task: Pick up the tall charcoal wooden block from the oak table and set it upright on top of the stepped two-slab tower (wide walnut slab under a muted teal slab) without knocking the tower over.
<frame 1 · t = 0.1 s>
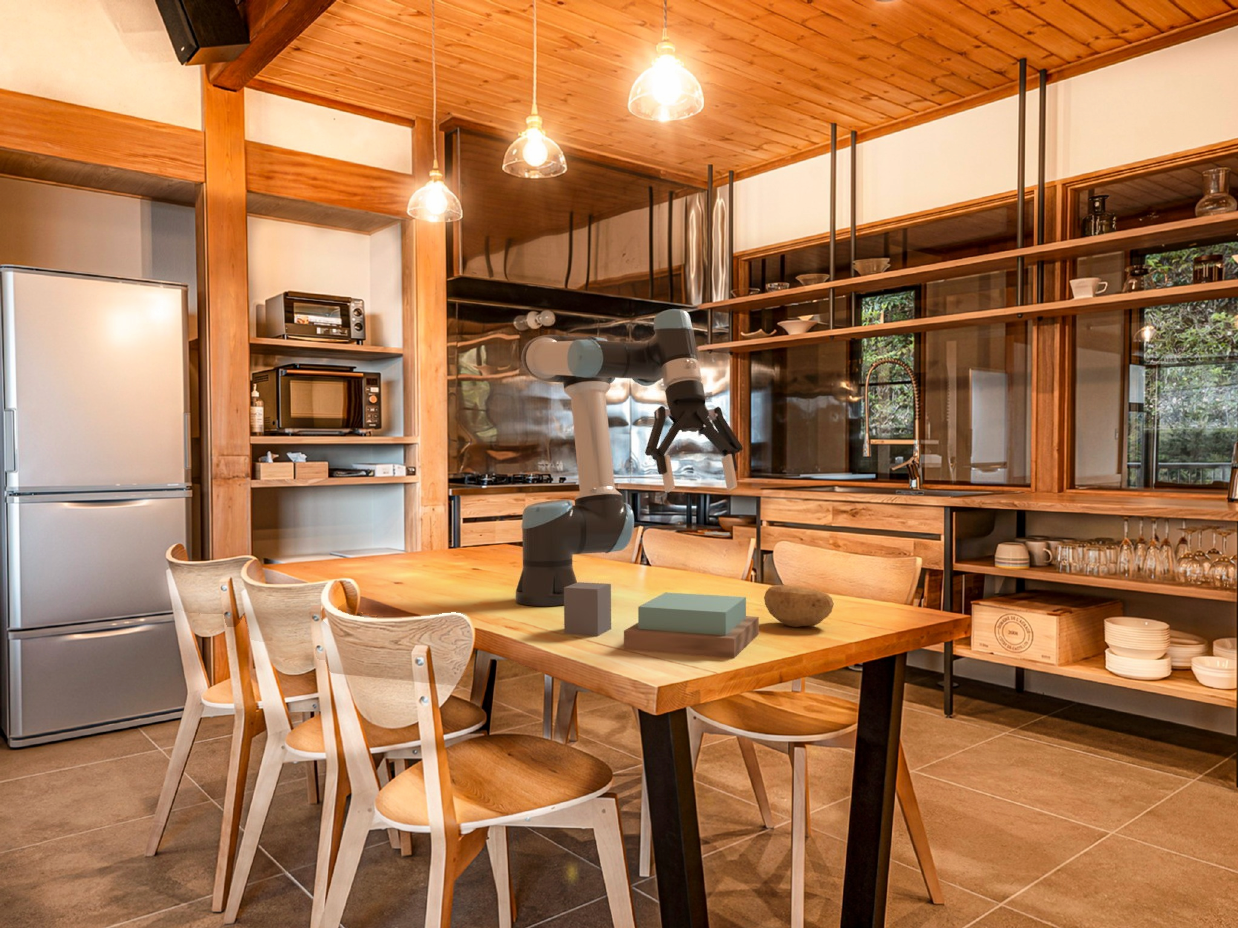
hand: (701, 489, 166), 28 cm above the table, tool tilted 20°, fingers open, 13 cm apart
block top: (693, 623, 161), point 3 cm above the table, touching block bottom
potato: (798, 627, 174), on the table
block: (588, 631, 171), on the table
block bottom: (693, 644, 161), on the table, touching block top
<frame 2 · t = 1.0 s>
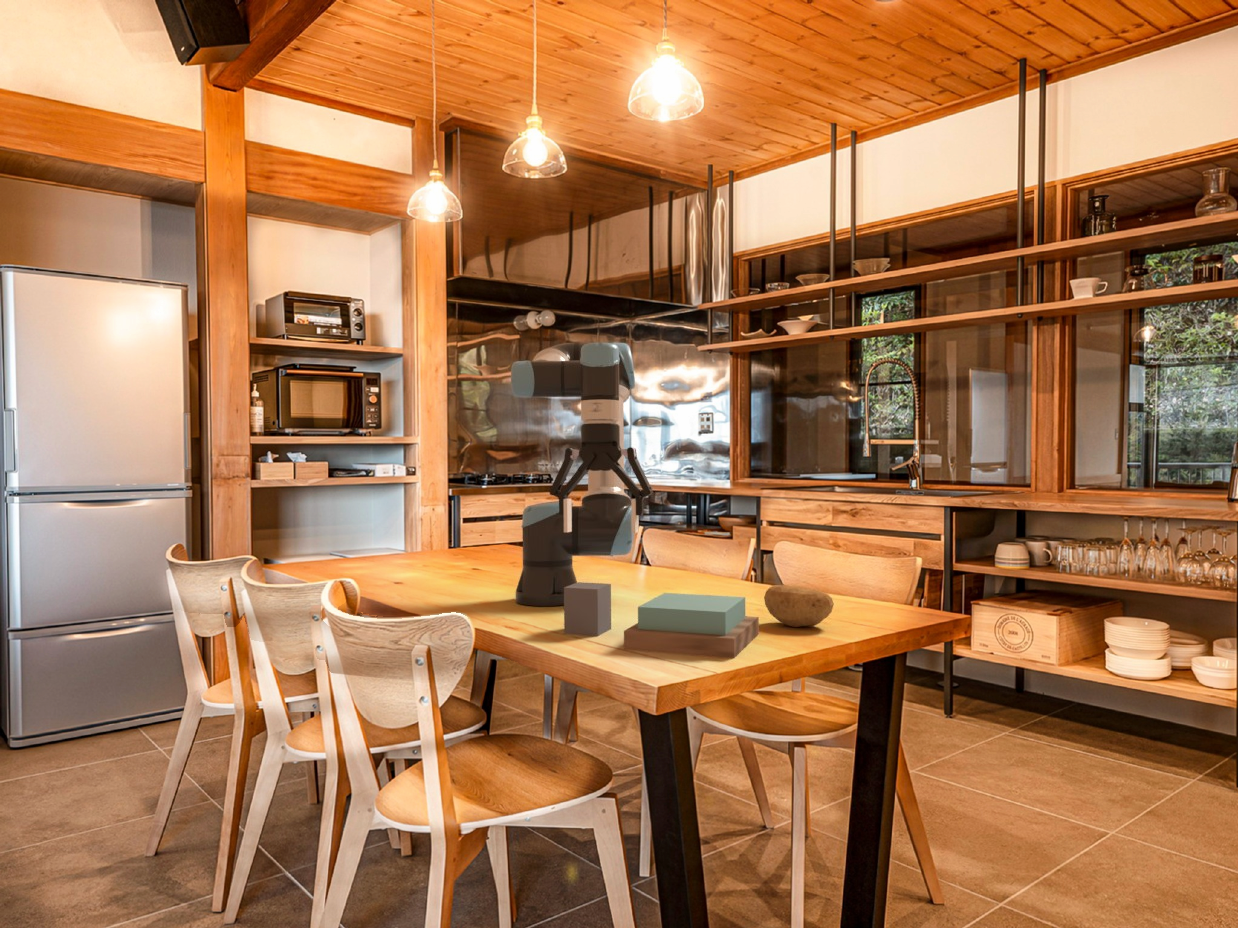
hand: (601, 532, 170), 19 cm above the table, tool pointing down, fingers open, 13 cm apart
nothing on the table moved.
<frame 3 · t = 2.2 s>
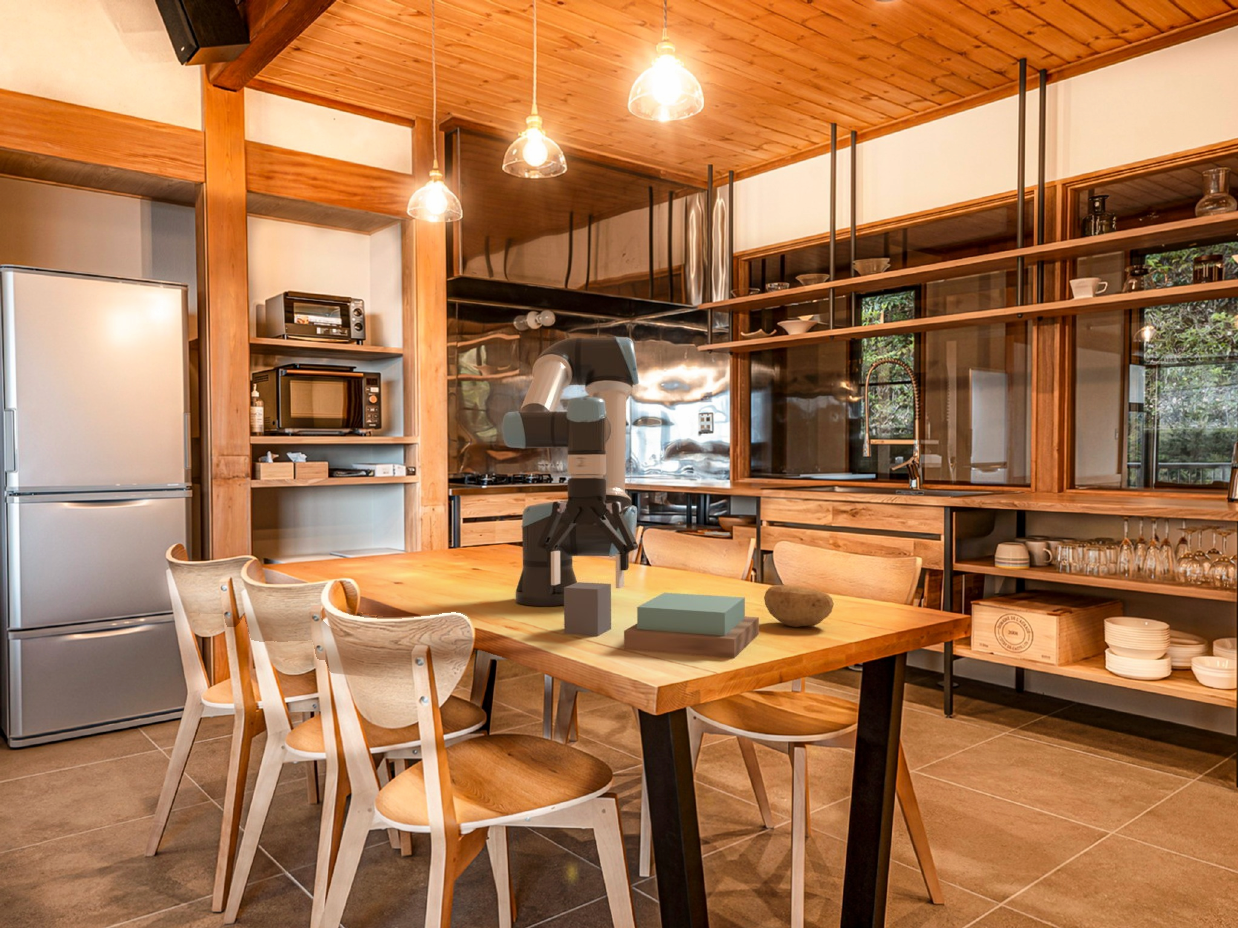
hand: (587, 586, 170), 9 cm above the table, tool pointing down, fingers open, 13 cm apart
block top: (692, 623, 161), point 3 cm above the table
block bottom: (693, 645, 161), on the table
everything else where it was.
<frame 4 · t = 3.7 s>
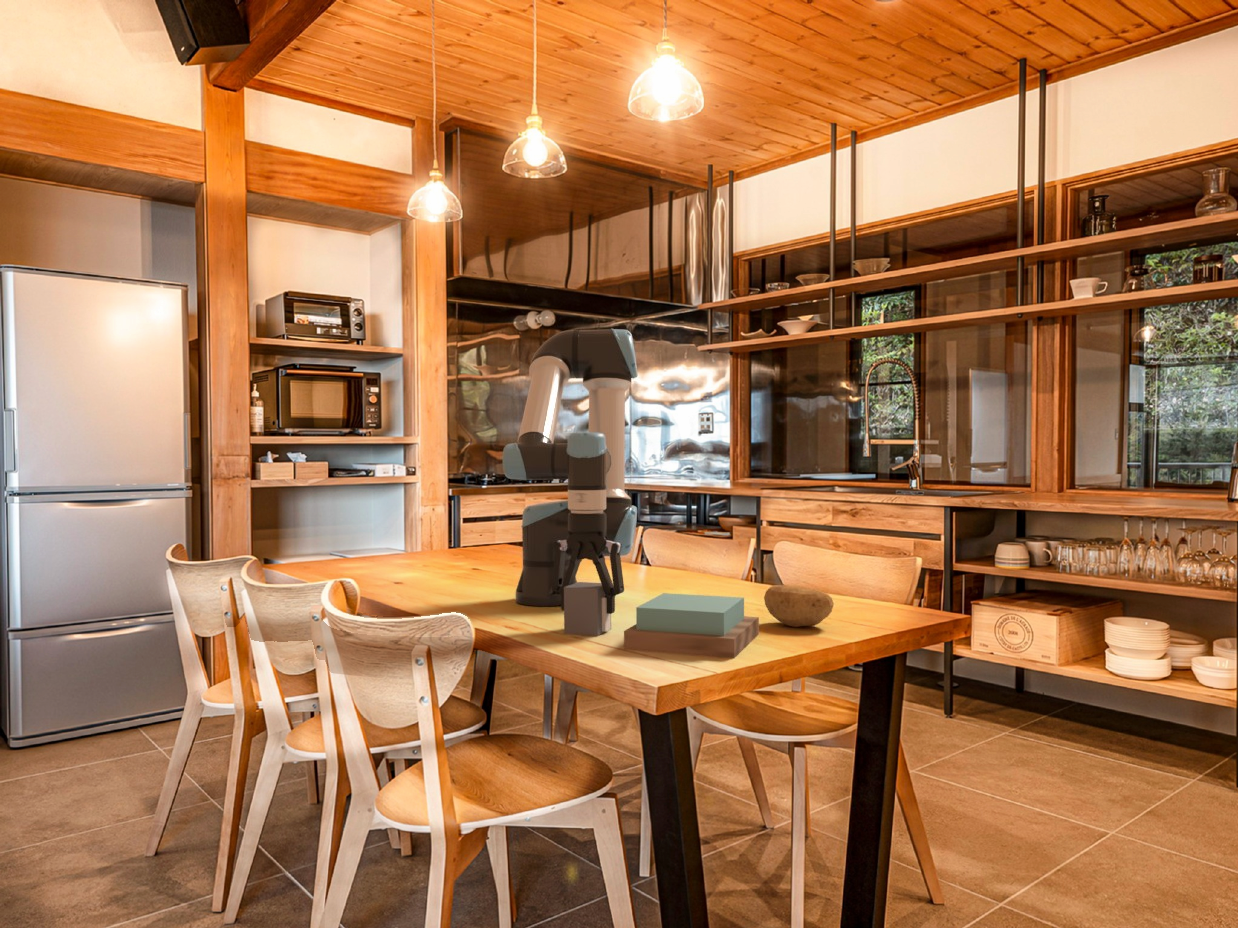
hand: (588, 628, 171), 1 cm above the table, tool pointing down, fingers closed on block, 7 cm apart
block top: (691, 623, 161), point 3 cm above the table, touching block bottom
block: (588, 631, 171), on the table, touching gripper
block bottom: (693, 645, 161), on the table, touching block top
everything else where it was.
when the fingers open (10 cm above the table, at t = 10.1 s): block drops 2 cm, resting on block top.
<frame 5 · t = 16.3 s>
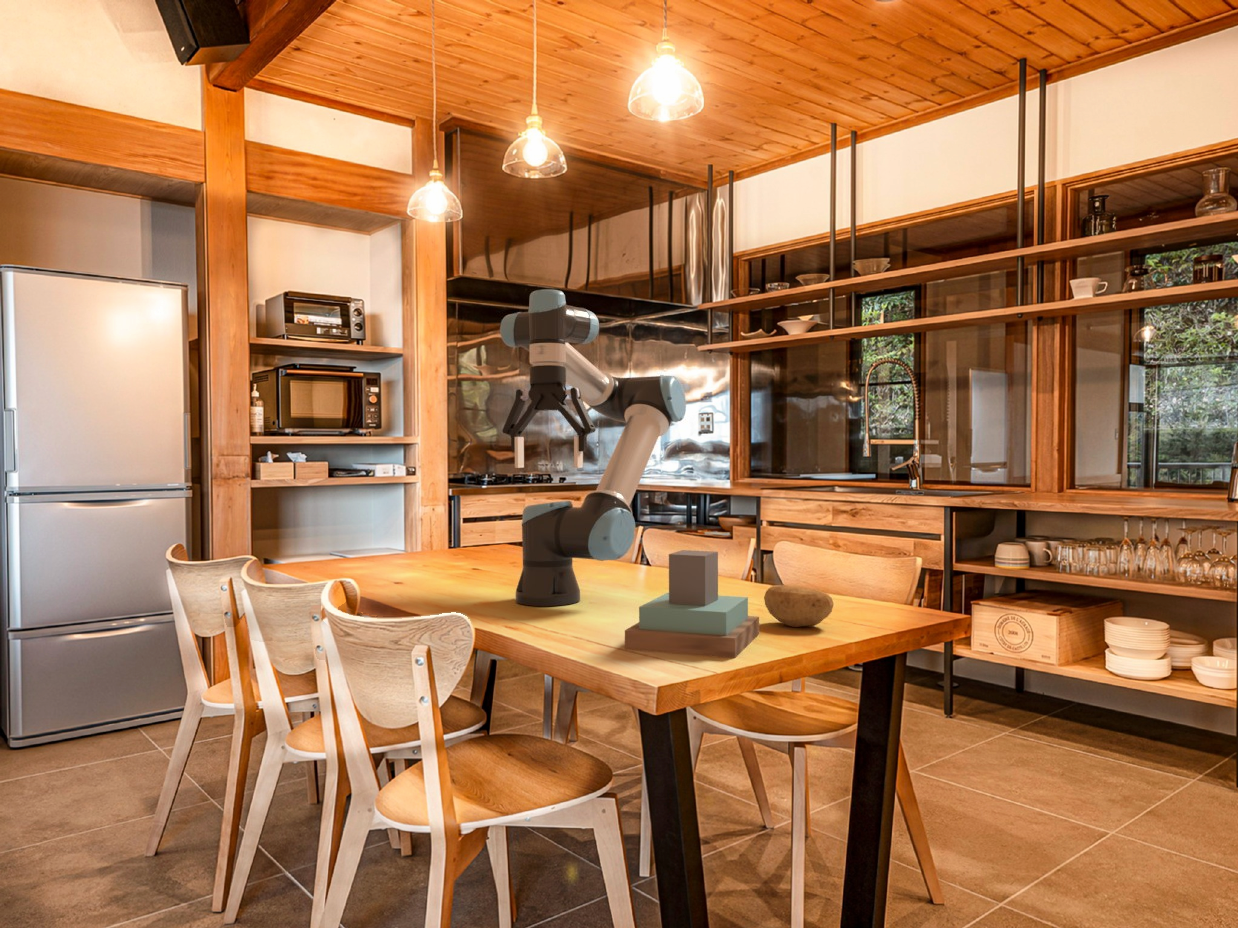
hand: (548, 468, 182), 32 cm above the table, tool pointing down, fingers open, 13 cm apart
block top: (695, 623, 161), point 3 cm above the table, touching block, block bottom
block: (693, 601, 161), point 7 cm above the table, touching block top
everything else where it was.
at the end: block inside the target area on the block bottom (0.1 cm from its centre), point 8.0 cm above the block bottom's base; block top 0.3 cm off-centre on the block bottom, point 4.0 cm above the block bottom's base; the gripper is holding nothing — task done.
